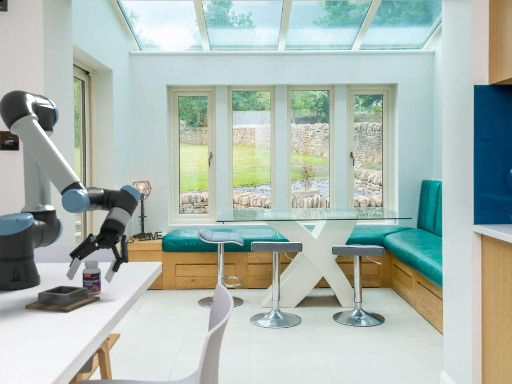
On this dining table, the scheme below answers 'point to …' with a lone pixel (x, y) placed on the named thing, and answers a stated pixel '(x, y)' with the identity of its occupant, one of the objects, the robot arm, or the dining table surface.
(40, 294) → the square framed tray
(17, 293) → the dining table surface
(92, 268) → the pill bottle
